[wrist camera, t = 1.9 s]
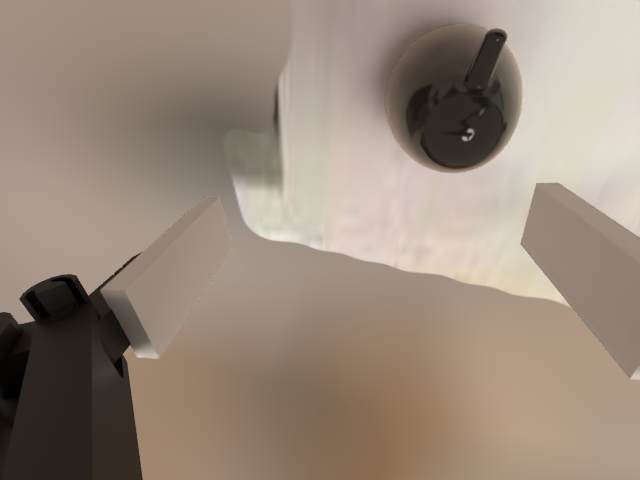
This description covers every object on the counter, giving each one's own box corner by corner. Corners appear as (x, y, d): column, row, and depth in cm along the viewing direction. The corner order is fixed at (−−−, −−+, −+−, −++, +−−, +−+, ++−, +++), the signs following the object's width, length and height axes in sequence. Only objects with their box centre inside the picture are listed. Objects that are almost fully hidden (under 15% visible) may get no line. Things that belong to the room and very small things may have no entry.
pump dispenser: (524, 23, 26) (625, 40, 14) (478, 145, 32) (521, 228, 20) (399, 13, 27) (395, 21, 16) (378, 133, 34) (365, 204, 22)
